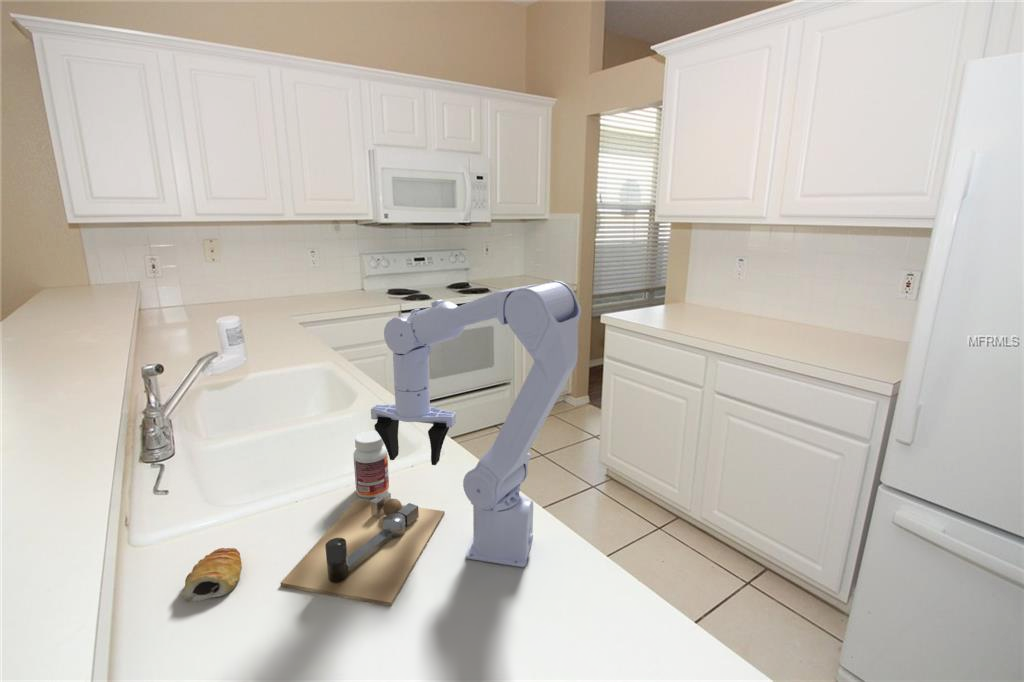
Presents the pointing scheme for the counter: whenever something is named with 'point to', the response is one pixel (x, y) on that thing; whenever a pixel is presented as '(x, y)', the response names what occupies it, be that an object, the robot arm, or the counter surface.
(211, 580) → the pastry
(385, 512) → the brown ball
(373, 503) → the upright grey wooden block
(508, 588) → the counter surface
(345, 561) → the lever
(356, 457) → the pill bottle
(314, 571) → the board
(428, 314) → the robot arm
